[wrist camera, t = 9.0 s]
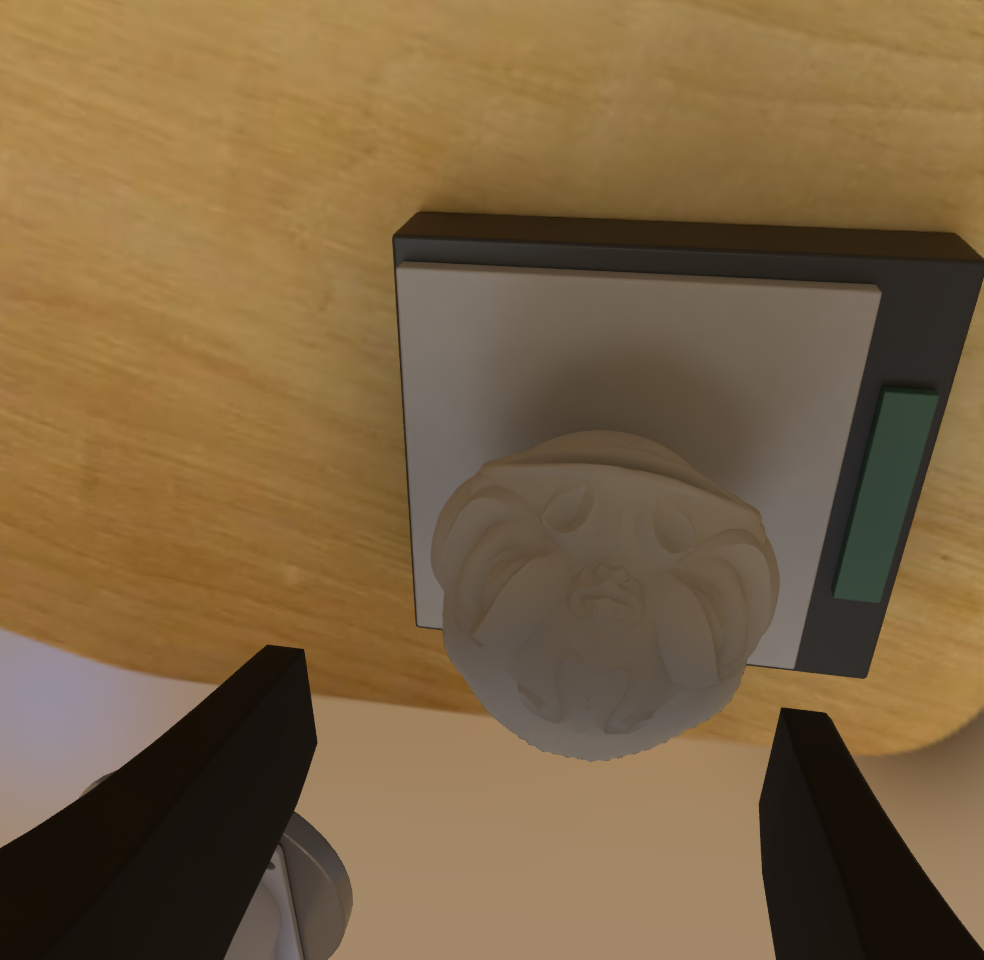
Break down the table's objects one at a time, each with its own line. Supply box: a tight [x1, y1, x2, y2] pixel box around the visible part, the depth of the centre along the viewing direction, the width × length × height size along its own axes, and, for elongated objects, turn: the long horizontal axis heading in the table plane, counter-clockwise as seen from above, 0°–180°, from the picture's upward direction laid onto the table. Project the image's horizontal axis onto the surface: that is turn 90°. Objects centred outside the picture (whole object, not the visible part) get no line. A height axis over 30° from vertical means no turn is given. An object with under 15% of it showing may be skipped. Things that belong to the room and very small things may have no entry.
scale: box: [392, 212, 984, 679], centre depth 19 cm, size 10×11×2 cm
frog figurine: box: [430, 430, 780, 762], centre depth 15 cm, size 6×7×7 cm
